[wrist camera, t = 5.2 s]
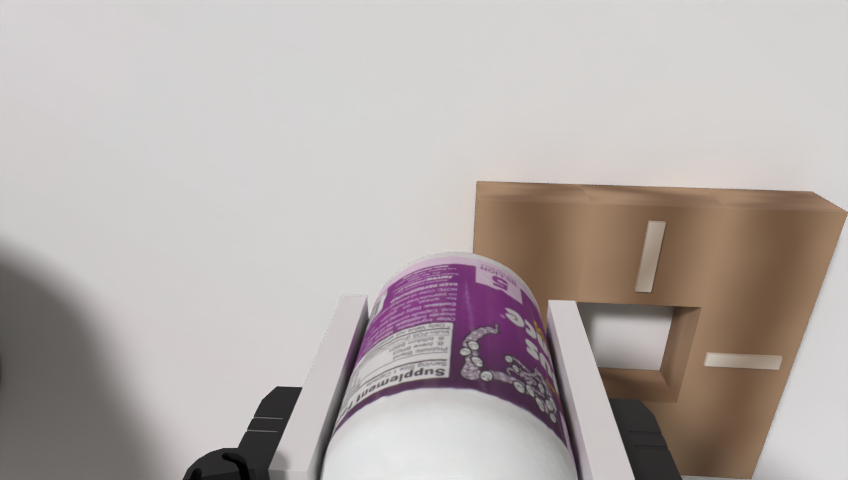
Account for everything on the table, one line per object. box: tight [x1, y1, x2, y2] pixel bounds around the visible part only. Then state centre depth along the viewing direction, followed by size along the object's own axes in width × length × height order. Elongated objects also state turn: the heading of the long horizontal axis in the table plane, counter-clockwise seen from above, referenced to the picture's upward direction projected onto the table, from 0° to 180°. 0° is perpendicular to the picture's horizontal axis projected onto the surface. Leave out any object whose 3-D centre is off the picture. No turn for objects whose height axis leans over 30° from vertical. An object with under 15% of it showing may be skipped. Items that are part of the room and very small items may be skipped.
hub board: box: [473, 181, 848, 479], centre depth 32 cm, size 18×18×3 cm
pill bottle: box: [320, 252, 578, 480], centre depth 13 cm, size 5×5×10 cm
